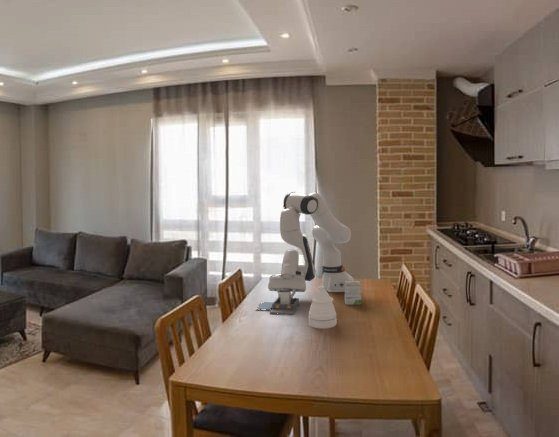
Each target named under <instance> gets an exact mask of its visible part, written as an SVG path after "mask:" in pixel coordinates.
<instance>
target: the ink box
mask: <svg viewBox="0 0 559 437" xmlns="http://www.w3.org/2000/svg"><path fill="white" fill-rule="evenodd" d="M344 303H345V304H344V305H347V306H348V305H349V306H352V305H357V306H358V305H362V282H361V280H354V281H345V292H344Z"/></svg>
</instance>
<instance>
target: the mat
mask: <svg viewBox="0 0 559 437" xmlns="http://www.w3.org/2000/svg"><path fill="white" fill-rule="evenodd" d="M263 302H264V303H262V304H261V302H260V303H259V304H258V305H257V306H259V307H257V306H256V307H257V308H258V309H266V310H270V309H271V308H272V304H273V302H274V301H273V302H272V301H263ZM271 310H272V309H271ZM271 310H270V311H271Z"/></svg>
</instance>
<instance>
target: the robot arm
mask: <svg viewBox="0 0 559 437" xmlns="http://www.w3.org/2000/svg"><path fill="white" fill-rule="evenodd" d="M282 207H283V210H281V212H280V218H279V231H280V237H281V239H282V240H283V242H285V243H286V244H288V245H291V246H294V247H295V248H297V249H299V250H301V252H302V256H303V260H304V262H299V261H300V260H299V259H300V257H299V256H300V255H299V254H300V253H299V251H298V250H297V249H292V248H290V249H287V250H285V251H284V255H283V259H282V262H281V263H282V264H281V269H280V270H281V271H280V274H272V275H270V276H269V279H268V280H269V281H268V285H267V288H268V290H269V291H270V292H277V298H280V290H281V288H290V289H291V294H290V299H293V298H294V296H295V295H296V293H304V292H306V290H307V283H306V281H307V282H311V281H312V280H314V279H315V278H316V272H317V271H316V267H315V264H314V260H313V257H312V253H311V249H310V244H309V242H308V238H307V237H306V235H305V236H304V234H303V233H302V231H301V224H300V217H301V215H302V214H303V215H307V216H308V215H309V216H310V217H311V219H312V220H313V222H314V223H315V225H314V226H313V228H312V230H311V231H312V232H311V235H312V238H313V239H314V240H315V241H316V242H317V243H318V246H319V247H320V251H321V255H322V256H321V257H322V265H321V275H322V280H321V285H320V286H324V289H325V290H326V291H327V293H328V292H329V293H345V281H355V279H354V277H353V276H351V275H350V274H349V273H348V272H346V267H345V265H342V253H341V251H340V250H339V248H337V247H336V245H335V244H345V243H349V241H350V240H351V239H352V238H351V237H352V231H351V229H350V227H349V226H346V225H344V223H342V222H340V221H339V220H338V218H336V217H335V216H334V215H333V214H332V212H331V210H330V208H329V206H328V205H327V203H326V201H325V200H324V198H323V196H321V195H320V194H319V193H318V192H310V193H309V194H307V193H303V192H296V191H290V192H287V193H286V194H285V196H284V197H283V206H282Z"/></svg>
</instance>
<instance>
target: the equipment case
mask: <svg viewBox="0 0 559 437" xmlns="http://www.w3.org/2000/svg"><path fill="white" fill-rule="evenodd" d="M299 306H300V298H294V297H293V299H291V304H281V302H280V298H278V297H276V299H275V300H274V301H273V304H272V309H271V310H270V311H269V314H270V313H278V314H277V315H285V314H289V315H291V316H293V315H294V314H295V313H296V311H297V309H298V307H299ZM289 315H288V316H289Z"/></svg>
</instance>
